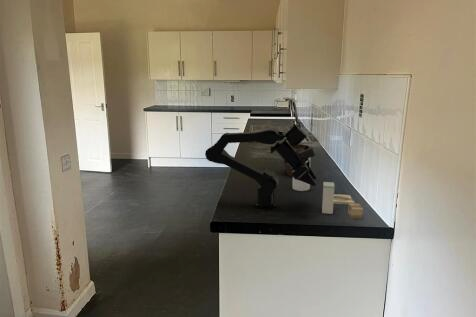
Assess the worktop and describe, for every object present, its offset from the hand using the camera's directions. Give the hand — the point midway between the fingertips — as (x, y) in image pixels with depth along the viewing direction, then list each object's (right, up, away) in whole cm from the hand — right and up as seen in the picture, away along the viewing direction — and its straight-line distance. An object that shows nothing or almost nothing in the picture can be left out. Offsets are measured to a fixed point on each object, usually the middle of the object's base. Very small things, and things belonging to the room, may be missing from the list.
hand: (315, 182), depth 141 cm
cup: (0, -5, +30) cm, 31 cm away
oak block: (+15, -13, -3) cm, 20 cm away
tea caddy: (+5, -12, +2) cm, 13 cm away
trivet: (+14, -9, +14) cm, 22 cm away
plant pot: (0, 0, +54) cm, 54 cm away
